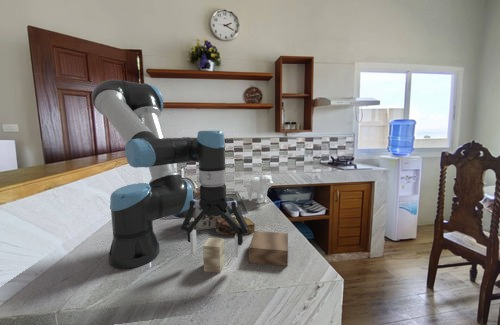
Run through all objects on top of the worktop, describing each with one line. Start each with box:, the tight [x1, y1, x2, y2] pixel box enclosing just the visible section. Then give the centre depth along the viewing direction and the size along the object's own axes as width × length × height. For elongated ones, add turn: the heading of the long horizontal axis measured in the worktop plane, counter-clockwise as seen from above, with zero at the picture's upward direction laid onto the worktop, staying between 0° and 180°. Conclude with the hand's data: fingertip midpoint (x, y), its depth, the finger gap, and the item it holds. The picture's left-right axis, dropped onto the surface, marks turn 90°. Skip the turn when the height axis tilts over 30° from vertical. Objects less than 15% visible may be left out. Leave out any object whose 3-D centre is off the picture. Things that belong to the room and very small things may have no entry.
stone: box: [214, 216, 256, 236], centre depth 95 cm, size 15×9×5 cm, turn 105°
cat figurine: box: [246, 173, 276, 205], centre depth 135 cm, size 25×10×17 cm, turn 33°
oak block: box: [202, 237, 226, 274], centre depth 70 cm, size 5×5×8 cm
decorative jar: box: [192, 186, 222, 231], centre depth 102 cm, size 12×12×18 cm
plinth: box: [248, 230, 289, 267], centre depth 77 cm, size 12×12×5 cm
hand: (215, 253), depth 69 cm, fingers open, 13 cm apart
